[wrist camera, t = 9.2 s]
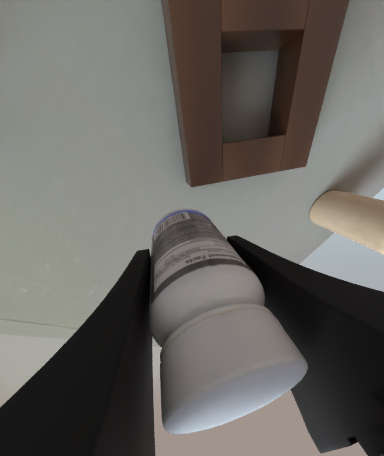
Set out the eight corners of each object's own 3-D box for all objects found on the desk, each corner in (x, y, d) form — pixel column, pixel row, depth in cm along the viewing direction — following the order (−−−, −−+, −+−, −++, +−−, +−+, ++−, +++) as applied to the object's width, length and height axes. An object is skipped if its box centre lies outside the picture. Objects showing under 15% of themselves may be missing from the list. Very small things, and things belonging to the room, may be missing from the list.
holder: (186, 182, 16) (191, 187, 14) (158, -18, 9) (159, -67, 7) (287, 164, 18) (306, 166, 16) (323, -14, 11) (363, -53, 9)
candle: (319, 189, 21) (435, 217, 12) (346, 190, 22) (469, 215, 13) (303, 223, 23) (390, 266, 15) (328, 222, 25) (421, 260, 16)
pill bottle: (205, 260, 13) (274, 408, 5) (149, 260, 11) (141, 458, 4) (219, 209, 10) (362, 339, 3) (153, 202, 9) (152, 394, 2)
